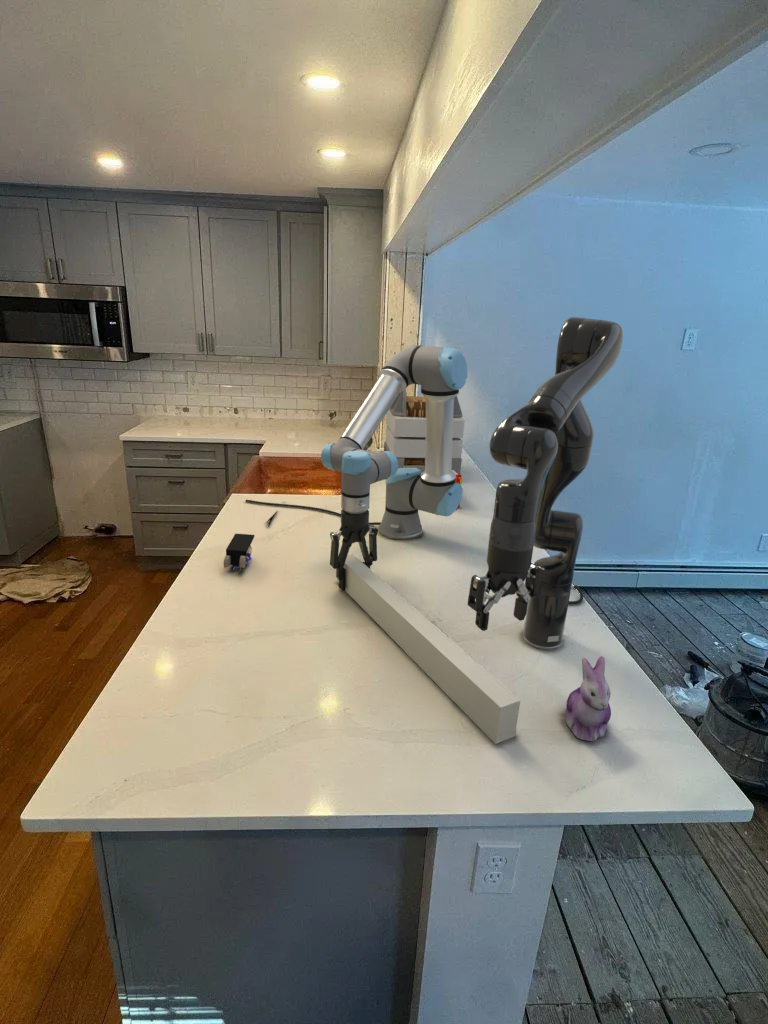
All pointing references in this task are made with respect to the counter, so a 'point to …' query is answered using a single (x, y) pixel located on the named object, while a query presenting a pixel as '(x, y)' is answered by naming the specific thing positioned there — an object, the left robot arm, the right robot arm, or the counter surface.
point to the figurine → (590, 703)
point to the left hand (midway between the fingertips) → (353, 586)
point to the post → (435, 653)
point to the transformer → (417, 431)
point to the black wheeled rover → (238, 551)
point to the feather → (271, 519)
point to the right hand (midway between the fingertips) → (500, 623)
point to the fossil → (368, 444)
